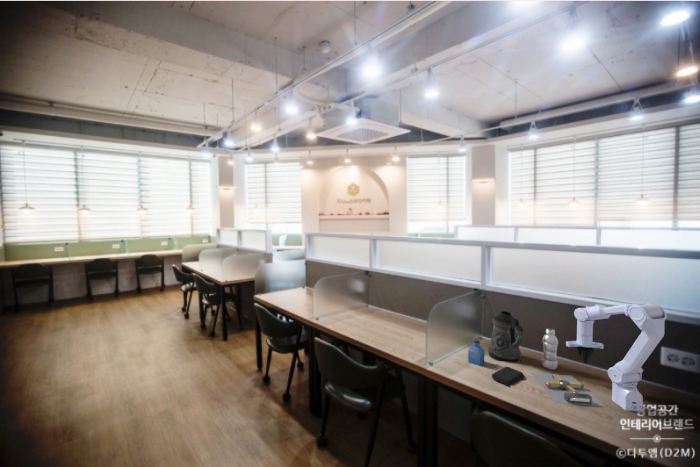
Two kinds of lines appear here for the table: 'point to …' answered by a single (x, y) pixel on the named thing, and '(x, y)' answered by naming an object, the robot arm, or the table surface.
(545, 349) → the plastic bottle
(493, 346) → the beer stein
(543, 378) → the level board
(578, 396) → the level window
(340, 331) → the table surface
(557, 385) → the cam capstan
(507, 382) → the carrying case or bag
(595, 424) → the table surface
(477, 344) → the perfume bottle
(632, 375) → the robot arm
